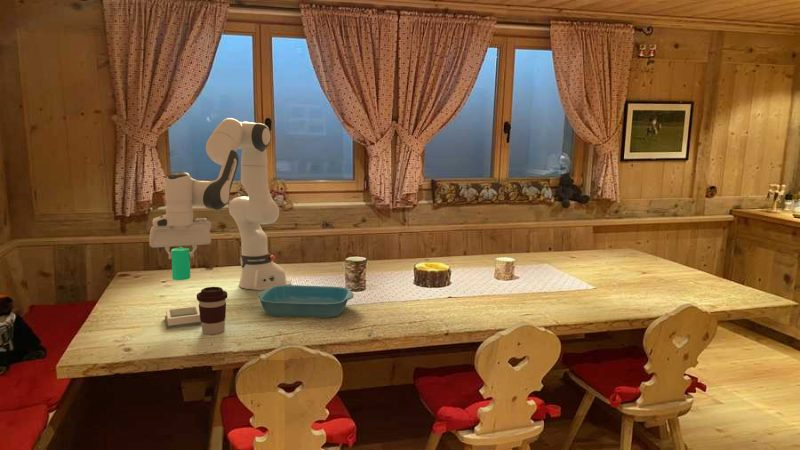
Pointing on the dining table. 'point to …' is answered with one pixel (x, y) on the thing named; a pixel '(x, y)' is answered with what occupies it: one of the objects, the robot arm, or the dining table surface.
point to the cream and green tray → (182, 317)
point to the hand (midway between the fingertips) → (181, 257)
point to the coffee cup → (212, 309)
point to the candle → (180, 263)
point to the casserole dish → (304, 300)
